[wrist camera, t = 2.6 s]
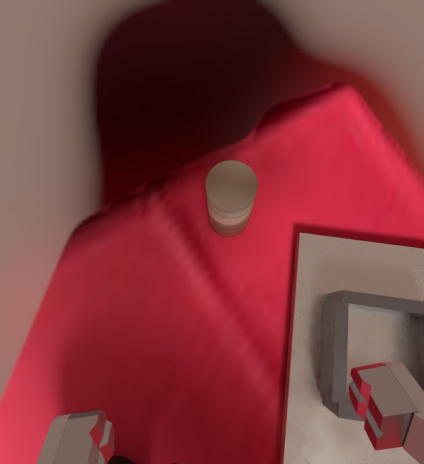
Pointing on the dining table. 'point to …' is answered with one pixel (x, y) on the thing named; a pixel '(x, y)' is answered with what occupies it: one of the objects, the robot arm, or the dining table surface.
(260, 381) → the dining table surface
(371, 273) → the grey block with recess
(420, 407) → the robot arm
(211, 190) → the disc
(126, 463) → the coffee mug
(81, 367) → the dining table surface
